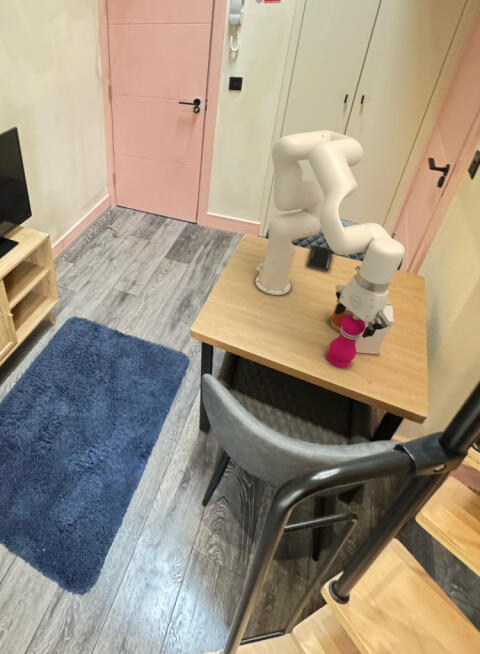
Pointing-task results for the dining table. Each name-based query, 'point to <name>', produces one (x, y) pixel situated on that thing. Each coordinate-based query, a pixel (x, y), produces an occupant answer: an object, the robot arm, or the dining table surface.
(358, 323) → the pepper mill
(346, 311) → the sauce tin
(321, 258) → the phone
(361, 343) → the milk carton
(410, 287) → the dining table surface
